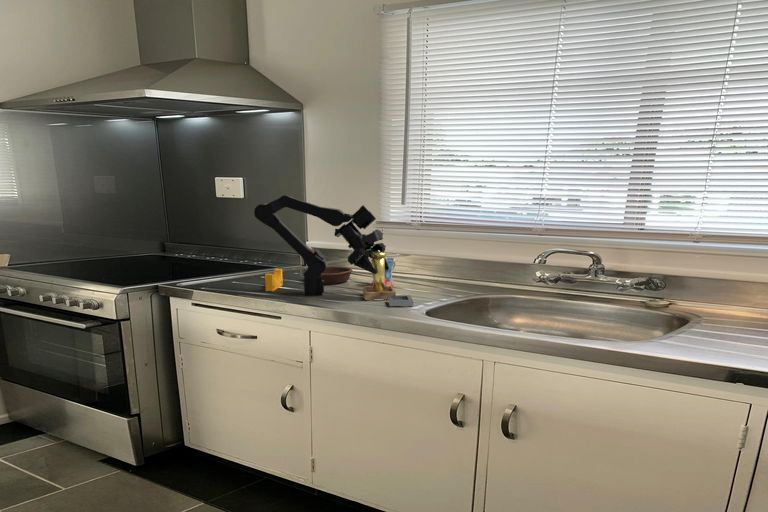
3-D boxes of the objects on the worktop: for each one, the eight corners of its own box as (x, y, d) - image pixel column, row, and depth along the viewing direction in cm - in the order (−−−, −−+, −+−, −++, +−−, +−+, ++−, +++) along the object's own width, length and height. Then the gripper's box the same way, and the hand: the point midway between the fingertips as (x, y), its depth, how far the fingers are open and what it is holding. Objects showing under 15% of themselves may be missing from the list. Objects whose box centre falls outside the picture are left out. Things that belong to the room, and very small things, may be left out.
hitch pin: (371, 297, 177) (371, 253, 174) (370, 293, 182) (370, 251, 180) (386, 296, 177) (387, 253, 175) (385, 293, 182) (385, 251, 180)
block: (389, 307, 165) (389, 301, 165) (387, 301, 173) (387, 295, 173) (413, 306, 166) (413, 300, 166) (409, 301, 174) (409, 295, 173)
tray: (364, 300, 174) (364, 292, 174) (363, 293, 184) (363, 286, 184) (395, 300, 175) (395, 291, 175) (392, 293, 185) (392, 285, 185)
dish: (364, 279, 211) (364, 267, 211) (328, 289, 194) (327, 276, 193) (333, 275, 222) (332, 264, 221) (295, 283, 204) (295, 271, 203)
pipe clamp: (271, 285, 201) (271, 268, 200) (282, 285, 201) (282, 269, 200) (261, 291, 189) (260, 274, 188) (272, 292, 189) (272, 274, 188)
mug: (384, 289, 191) (384, 261, 190) (365, 286, 197) (365, 259, 196) (404, 284, 201) (404, 257, 199) (385, 281, 206) (385, 255, 205)
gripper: (355, 224, 169) (385, 260, 166) (380, 220, 186) (408, 252, 183) (335, 246, 174) (363, 281, 171) (361, 241, 191) (388, 272, 187)
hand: (382, 271), depth 178 cm, fingers open, 9 cm apart
